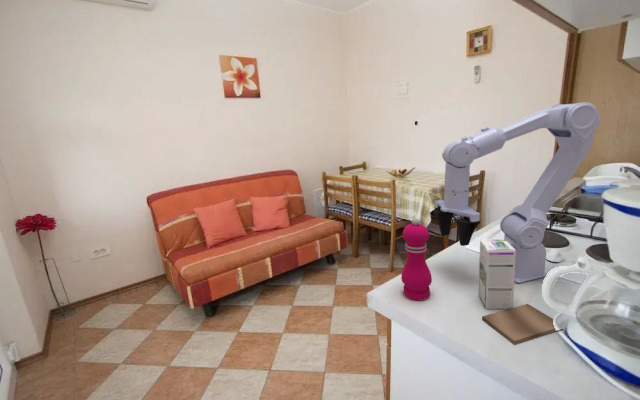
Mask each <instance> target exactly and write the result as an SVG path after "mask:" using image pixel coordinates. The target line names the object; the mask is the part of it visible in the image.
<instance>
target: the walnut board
mask: <svg viewBox="0 0 640 400" xmlns="http://www.w3.org/2000/svg"><path fill="white" fill-rule="evenodd" d="M553 319H554V318H553V317H551V316H549V315H548V314H546V313H544V312H542V311H540V310H539V309H537V308H536V307H534V306H532V305H530V304H529V303H526V304H522V305H519V306H516V307H514V306H513V308H511V309H507V310H500V311H497V312H492V313H489V314H486V315H482V316H481V320H482V321H483V322H485V324H487V325H488V326H490V328H492V329H494V331H496V332H498V334H500V335H501V336H503V337H504V338H505V340H506V339H507V340H508V341H509V342H510V343H511V344H513V345H516V344H517V345H518V344H520V343H524V342H527V341H531V340H533V339H537V338H539V337H543V336H546V335H548V334H549V335H550V334H552V333H556V332H555V328H554V325H553Z"/></svg>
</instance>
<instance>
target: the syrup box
mask: <svg viewBox="0 0 640 400" xmlns="http://www.w3.org/2000/svg"><path fill="white" fill-rule="evenodd" d="M515 256H516V250H515V249H514V248H513V247H512V246H511V245H510V244H509V243H508V242H507V241H506V240H504V239H482V240H481V239H480V240H479V266H478V267H479V268H478V269H479V270H478V297H479V298H480V300H481V302H482V304H483V306H484V308H485V309H488V310H489V309H490V310H501V311H504V310H507V309H511V308H514V306H513V305H514V292H515V281H514V277H515Z"/></svg>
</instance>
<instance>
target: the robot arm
mask: <svg viewBox="0 0 640 400" xmlns="http://www.w3.org/2000/svg"><path fill="white" fill-rule="evenodd" d="M601 122H602V118H601V116H600V113H599V110H598V108H597V107H596V105H594V104H593V103H591V102H586V101H584V102H577V103H567V104H566V103H565V104H563V103H561V104H560V103H557V104H553V105H551V106H550V107H546V108H545V107H544V108H542V109H540V110H538V111H535V112H534V113H531V114H530V115H529V114H528V115H527V116H525V117H523V118H521V119H518V120H517V121H514V122H512V123H510V124H508V125H506V126H504V127H502V128H497V127H494V126H492V127H487V126H484V127H482V128H480V131H479V132H478V133H477V132H476V133H475V134H473V135H469V136H463V137H461V142H460V141H453V142H450V143H448V144H447V145H446V146H445V147H444V149H443V151H442V153H441V155H442V159H443V161H444V162H445V164H444V165H445V167H444V168H445V172H444V185H443V186H444V189H443V191H444V193H443V195H444V196H443V197H444V199H439V200H435V203H434V205H435V206H434V208H436V209H434V210H433V211H432V212H433V213H432V214H433V215H434V216H435V218H436V221H437V223H438V227H439V232H440V235H441V236H442V237H446V236H449V235H450V233H451V227H452V221H453V217H454V215H456V216H460V217H462V218H458V219H455V223H456V225H457V227H458V228H457V229H458V234H459V245H460V246H461V247H463V246H469V245H470V242H471V239H472V236H473V235H474V232H475V231H476V229H477V227H478V226H479V225H480V223H481V213H480V212H477V211H475V210H474V209H473V208H471V207H470V206H469V198H470V197H469V196H470V195H469V194H470V175H471V174H470V173H471V170H470V169H471V164H473V162H474V161H475V160H477V159H480V158H482V157H485V156H487V155H489V154H492V153H494V152H496V151H497V152H498V151H499V150H501V149H502V148H503V147H504V145H505V143H506V142H507V141H508V142H509V141H511V140H513V139H515V138H518V137H521V136H524V135H527V134H529V133H532V132H535V131H537V130H540V129H547V130H548V132H549V133H550V134H551V135H552V136H553V137H554V139H555V140H556V142H557V145H558V148H557V151H556V152H555V154H554V155H553V157H552V158H551V160H550V162H549V163H548V165H547V166H546V167H545V168H544V170H543V172H542V174H541V175H540V177H539V178H538V180H537V181H536V182H535V184H534V186H533V187H532V189H531V190H530V192H529V194H528V195H527V196H526V198H525V199H524V200H523V203H520V204H519V205H517V206H515V207H513V208H512V210H511V211H510V213H508V214H507V215H505V216H504V217H502V219H501V221H500V223H499V227H500V230H501V231H502V233H503V234H504V238H503V240H506V241H507V242H508V243H509V244H510V245H511V246H512V247H513V248H514V249H515V250H516V256H515V277H514V283H517V284H522V283H525V282H529V281H533V280H536V279H541V278H544V277H546V276H545V275H546V274H547V273H546V272H545V270H546V269H545V268H546V261H547V259H546V258H547V250H546V247H545V245H544V244H543V243H542V241H543V239H544V237H545V231H546V230H547V228H548V226H549V221H548V218H547V213H548V212H549V211H550V210H551V208H552V207H553V205H554V203H555V202H556V200H557V199H558V198H559V196H560V195H561V193H562V192H563V191H564V189H565V188H566V186H567V185H568V183H569V182H570V181H571V179H572V177H573V176H574V174H575V172H576V171H577V170H578V169H579V167H580V165H581V164H582V163H583V161H584V160H585V158H586V157H587V155H588V154H589V152H590V151H591V149H592V147H593V143H594V137H595V131H596V129H597V127H598V126H599V125H600V123H601Z"/></svg>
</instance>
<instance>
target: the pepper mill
mask: <svg viewBox="0 0 640 400" xmlns="http://www.w3.org/2000/svg"><path fill="white" fill-rule="evenodd" d="M402 238H403V240H404V241H405V243H404V246H405V248H404V249H405V250H406V253H407V259H406V262H405V263H404V267H403V269H402V271H401V279H400V280H401V282H402V284H403V295H404V296H405V297H406V298H407V299H410V300H413V301H424V300H427V299H428V298H429V297H430V294H431V288H430V285H431V284H432V281H433V277H432V273H431V270H430V268H429V267H428V264H427V261H426V256H425V254H426V253H425V252H426V251H427V250H428V248H427V246H428V243H427V242H428V240H429V238H430V232H429V230H428V228H427V227H426V225H424V224H421V223H420V220H419V218H418V217H413V218H412V219H411V223H409V224H408V225H406V226H404V229H403V231H402Z"/></svg>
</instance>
